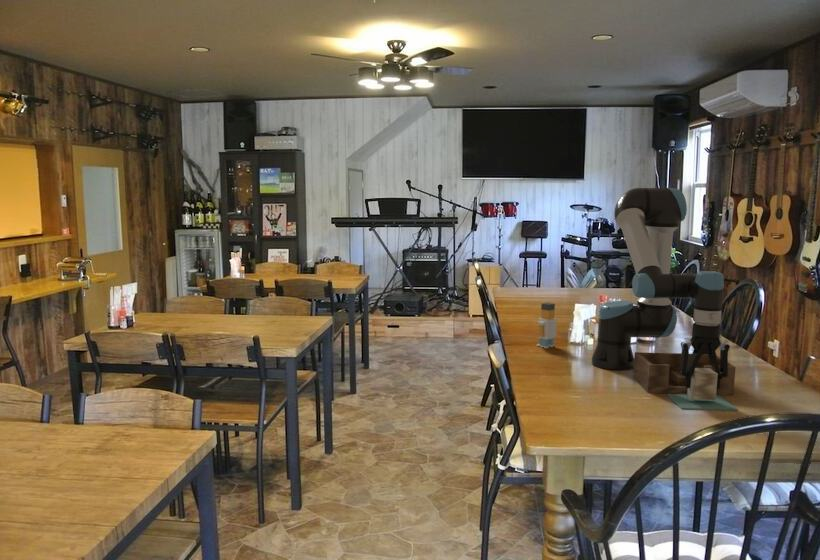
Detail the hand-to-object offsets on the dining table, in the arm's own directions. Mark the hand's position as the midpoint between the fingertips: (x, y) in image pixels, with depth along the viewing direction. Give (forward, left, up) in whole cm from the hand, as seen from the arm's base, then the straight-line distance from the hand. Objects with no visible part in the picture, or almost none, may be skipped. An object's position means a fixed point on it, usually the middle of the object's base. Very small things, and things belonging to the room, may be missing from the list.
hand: (701, 398), depth 193 cm
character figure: (-36, +69, -2) cm, 78 cm away
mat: (0, 0, -1) cm, 1 cm away
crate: (0, +17, -1) cm, 17 cm away
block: (0, 0, +1) cm, 1 cm away
